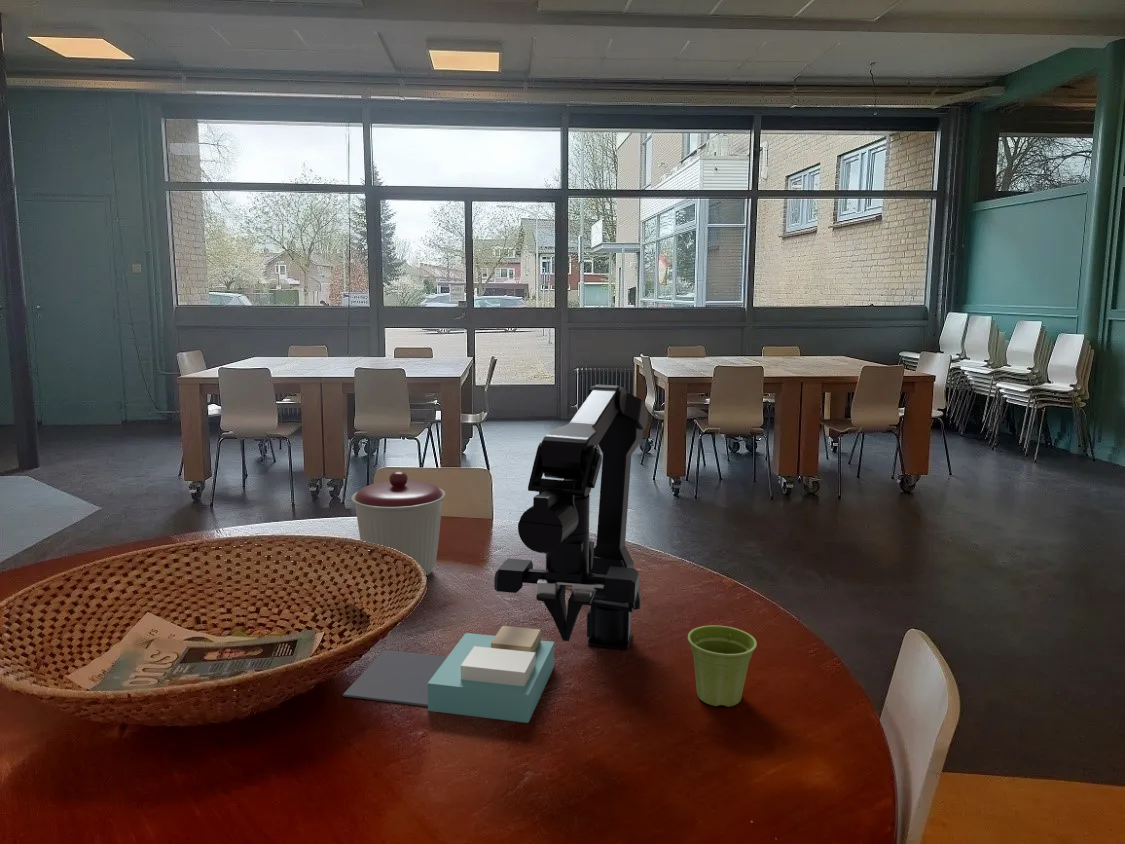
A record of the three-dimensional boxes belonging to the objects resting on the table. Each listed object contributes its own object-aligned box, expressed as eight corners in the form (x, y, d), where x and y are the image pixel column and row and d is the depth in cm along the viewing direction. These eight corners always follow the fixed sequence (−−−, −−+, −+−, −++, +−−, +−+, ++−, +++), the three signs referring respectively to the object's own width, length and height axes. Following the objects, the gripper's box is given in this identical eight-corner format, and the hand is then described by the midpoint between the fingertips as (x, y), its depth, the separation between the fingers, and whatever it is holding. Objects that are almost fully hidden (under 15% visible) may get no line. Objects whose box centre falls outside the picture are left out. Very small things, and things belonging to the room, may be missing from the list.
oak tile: (540, 642, 118) (540, 629, 118) (531, 660, 112) (531, 647, 112) (502, 638, 119) (502, 625, 119) (490, 655, 113) (490, 643, 113)
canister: (335, 584, 151) (330, 477, 147) (387, 555, 168) (384, 458, 164) (417, 597, 145) (414, 486, 141) (462, 565, 161) (461, 466, 158)
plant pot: (710, 673, 117) (713, 619, 116) (766, 697, 110) (769, 639, 109) (672, 696, 110) (674, 638, 109) (728, 722, 104) (731, 661, 102)
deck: (554, 666, 119) (554, 641, 118) (528, 722, 103) (528, 694, 103) (466, 657, 121) (465, 633, 121) (428, 710, 106) (427, 683, 105)
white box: (535, 665, 110) (535, 652, 110) (524, 686, 105) (524, 672, 104) (474, 659, 112) (474, 646, 112) (460, 679, 106) (460, 665, 106)
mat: (463, 660, 120) (463, 658, 120) (430, 706, 107) (430, 704, 107) (385, 651, 123) (385, 649, 123) (342, 696, 110) (342, 694, 109)
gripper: (644, 516, 109) (641, 621, 112) (514, 507, 113) (515, 610, 115) (635, 541, 98) (632, 657, 101) (492, 531, 102) (493, 643, 105)
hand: (566, 639), depth 106 cm, fingers closed
